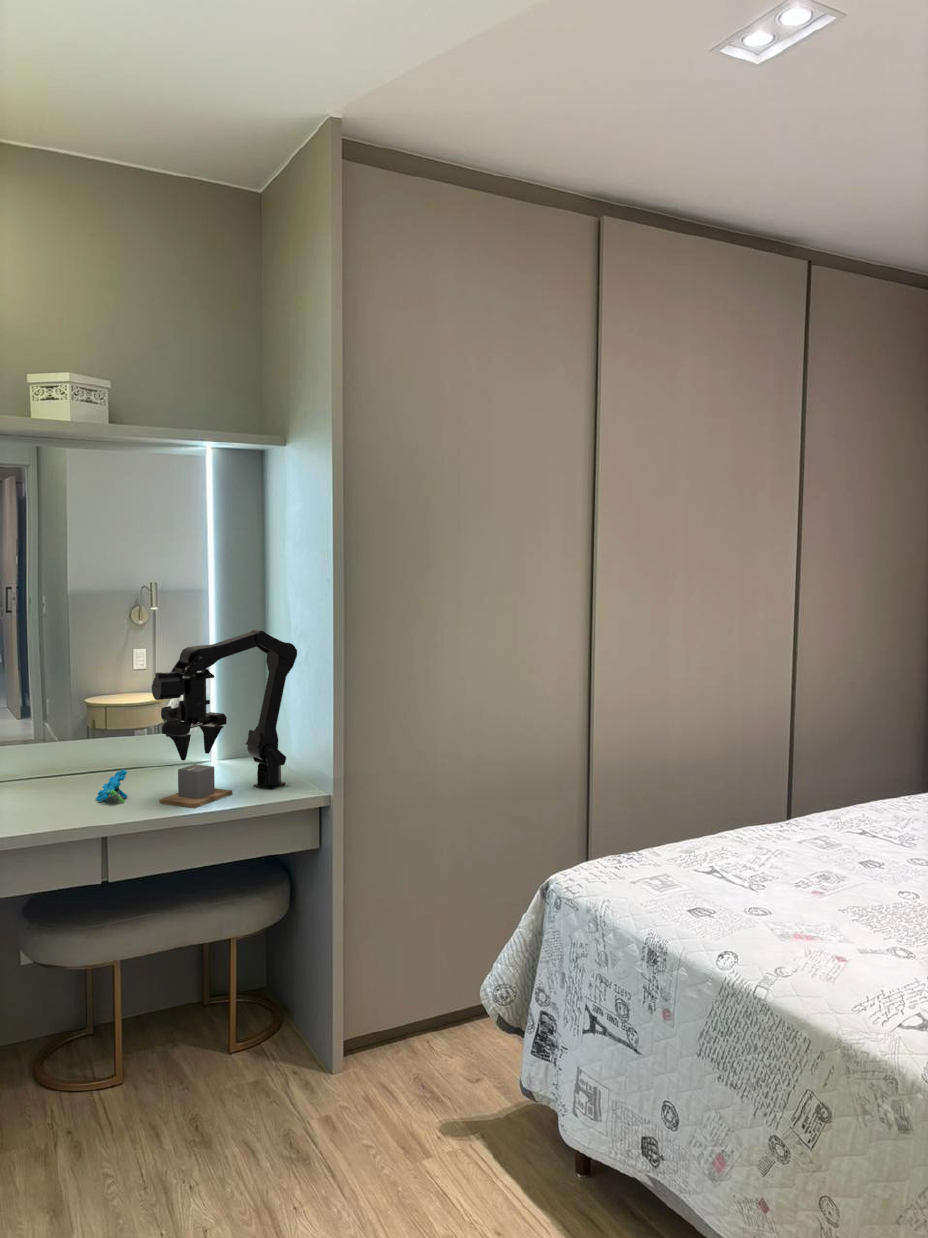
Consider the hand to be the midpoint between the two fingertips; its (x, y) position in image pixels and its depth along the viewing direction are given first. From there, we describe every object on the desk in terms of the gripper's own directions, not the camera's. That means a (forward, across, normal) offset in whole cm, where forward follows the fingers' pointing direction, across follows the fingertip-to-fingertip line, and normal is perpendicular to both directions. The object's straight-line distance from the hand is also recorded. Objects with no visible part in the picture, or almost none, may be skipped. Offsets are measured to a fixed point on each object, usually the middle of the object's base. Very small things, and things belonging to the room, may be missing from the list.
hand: (195, 756), depth 247 cm
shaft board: (+11, 0, 0) cm, 11 cm away
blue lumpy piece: (+11, +10, -18) cm, 24 cm away
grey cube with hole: (+10, 0, 0) cm, 10 cm away
